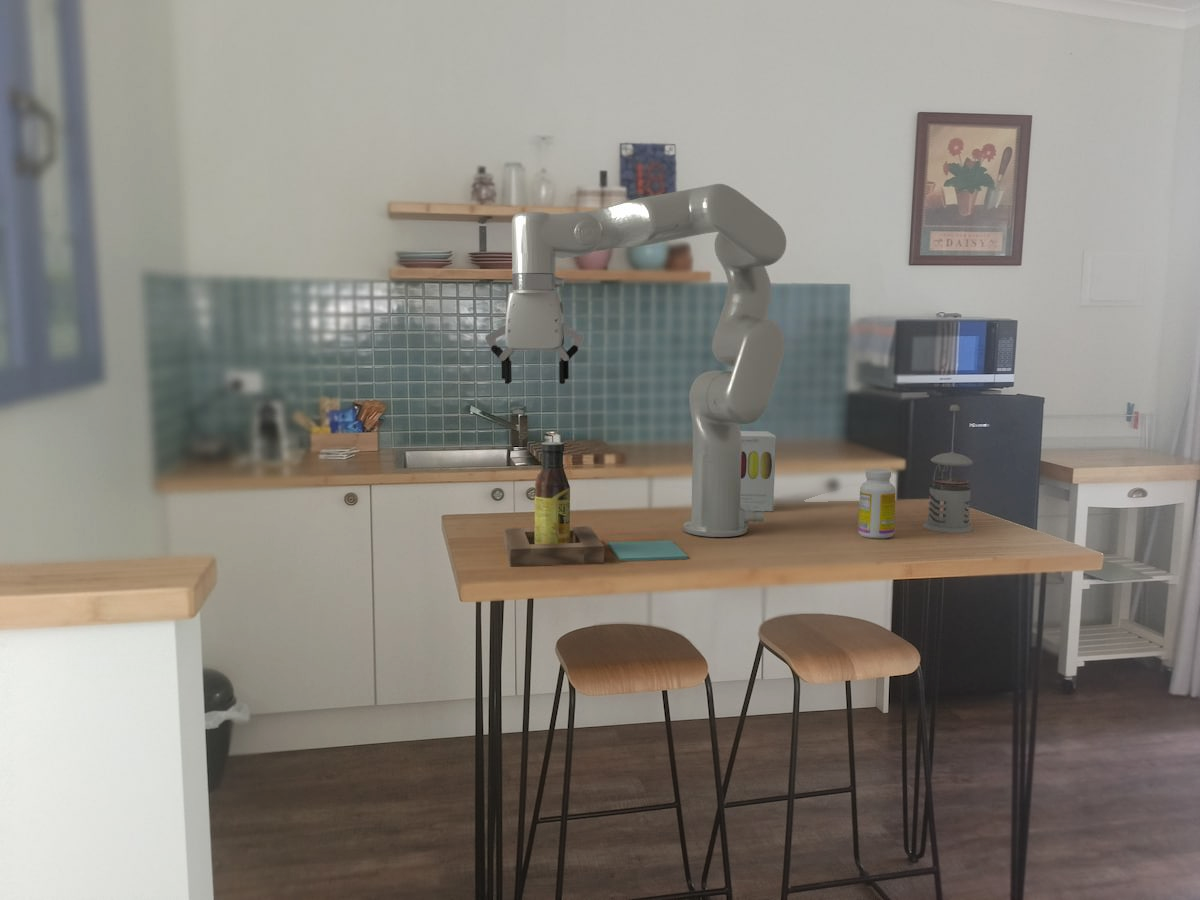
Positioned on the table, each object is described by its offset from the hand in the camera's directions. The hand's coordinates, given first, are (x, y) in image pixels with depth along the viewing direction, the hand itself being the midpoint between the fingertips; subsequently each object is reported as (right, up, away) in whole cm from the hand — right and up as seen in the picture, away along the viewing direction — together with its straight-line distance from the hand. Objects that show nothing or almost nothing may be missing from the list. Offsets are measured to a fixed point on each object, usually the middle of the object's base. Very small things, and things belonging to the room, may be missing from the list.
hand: (535, 383), depth 173 cm
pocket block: (+3, -30, +1) cm, 30 cm away
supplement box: (+44, -25, +44) cm, 67 cm away
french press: (+82, -28, +26) cm, 90 cm away
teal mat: (+20, -30, +3) cm, 36 cm away
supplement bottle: (+65, -29, +17) cm, 73 cm away
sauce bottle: (+3, -31, +1) cm, 31 cm away
